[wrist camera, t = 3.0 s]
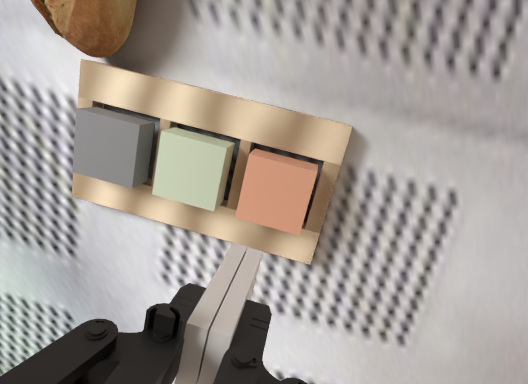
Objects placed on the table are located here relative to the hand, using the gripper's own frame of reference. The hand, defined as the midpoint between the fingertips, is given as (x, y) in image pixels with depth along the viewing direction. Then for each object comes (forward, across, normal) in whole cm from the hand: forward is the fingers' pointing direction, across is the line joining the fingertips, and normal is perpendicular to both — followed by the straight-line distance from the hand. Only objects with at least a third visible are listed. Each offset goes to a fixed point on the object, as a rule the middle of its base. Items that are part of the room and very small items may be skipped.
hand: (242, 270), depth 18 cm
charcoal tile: (+16, -16, 0) cm, 23 cm away
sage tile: (+16, -8, 0) cm, 18 cm away
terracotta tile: (+16, 0, 0) cm, 16 cm away
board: (+18, -8, 0) cm, 20 cm away
